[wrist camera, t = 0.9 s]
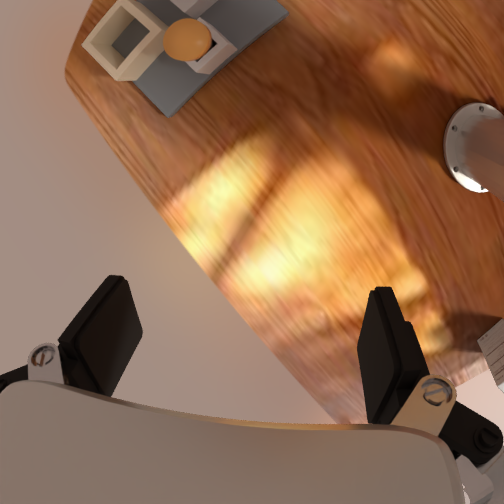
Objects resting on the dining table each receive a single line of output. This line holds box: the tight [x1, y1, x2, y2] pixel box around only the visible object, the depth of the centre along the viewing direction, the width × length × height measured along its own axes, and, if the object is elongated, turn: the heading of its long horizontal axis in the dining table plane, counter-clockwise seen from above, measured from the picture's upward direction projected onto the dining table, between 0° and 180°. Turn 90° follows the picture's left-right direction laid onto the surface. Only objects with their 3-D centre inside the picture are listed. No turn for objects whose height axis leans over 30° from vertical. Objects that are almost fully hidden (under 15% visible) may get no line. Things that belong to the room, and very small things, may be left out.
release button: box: [163, 18, 214, 61], centre depth 26 cm, size 4×4×6 cm
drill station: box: [81, 0, 289, 118], centre depth 28 cm, size 20×16×6 cm
